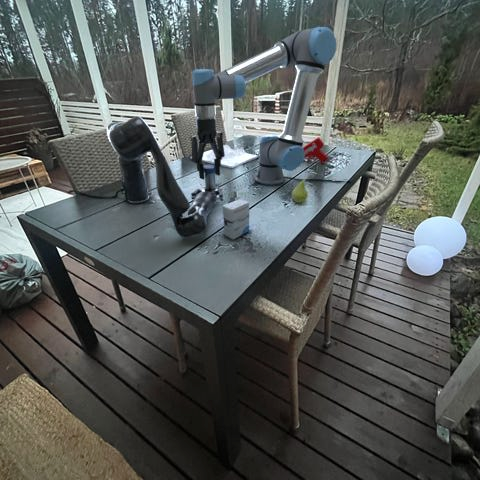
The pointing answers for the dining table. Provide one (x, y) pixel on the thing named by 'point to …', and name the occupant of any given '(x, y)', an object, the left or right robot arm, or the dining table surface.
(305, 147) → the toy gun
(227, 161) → the relief map
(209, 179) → the grey capped tube
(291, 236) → the dining table surface
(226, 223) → the ink box
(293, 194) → the fruit
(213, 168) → the lid
